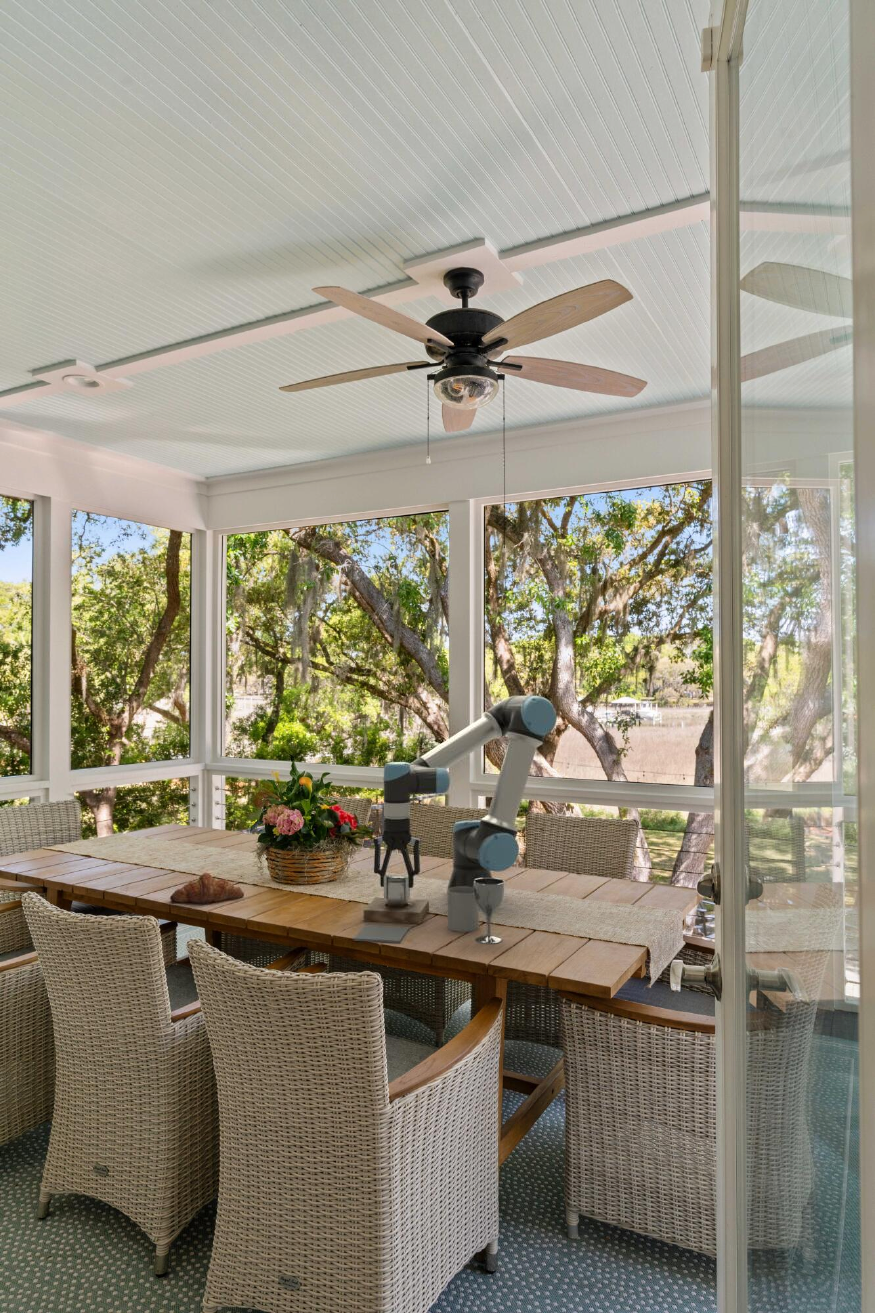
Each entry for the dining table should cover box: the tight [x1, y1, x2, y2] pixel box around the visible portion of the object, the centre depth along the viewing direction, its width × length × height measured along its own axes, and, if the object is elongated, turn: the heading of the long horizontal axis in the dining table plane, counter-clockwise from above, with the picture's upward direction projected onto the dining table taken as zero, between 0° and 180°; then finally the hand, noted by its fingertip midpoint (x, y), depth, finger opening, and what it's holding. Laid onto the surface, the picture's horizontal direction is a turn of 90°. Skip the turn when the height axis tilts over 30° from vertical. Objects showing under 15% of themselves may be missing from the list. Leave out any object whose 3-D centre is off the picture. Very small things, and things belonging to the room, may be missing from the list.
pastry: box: [169, 872, 245, 905], centre depth 253 cm, size 17×15×8 cm
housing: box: [363, 897, 430, 925], centre depth 236 cm, size 16×14×3 cm
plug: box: [387, 874, 407, 908], centre depth 236 cm, size 6×6×10 cm
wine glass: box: [474, 877, 505, 945], centre depth 214 cm, size 8×8×15 cm
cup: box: [447, 886, 480, 933], centre depth 225 cm, size 8×8×10 cm
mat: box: [353, 924, 410, 944], centre depth 217 cm, size 12×12×1 cm
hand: (397, 898), depth 236 cm, fingers closed on plug, 6 cm apart
